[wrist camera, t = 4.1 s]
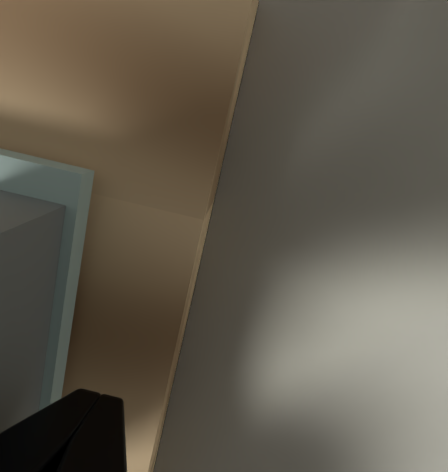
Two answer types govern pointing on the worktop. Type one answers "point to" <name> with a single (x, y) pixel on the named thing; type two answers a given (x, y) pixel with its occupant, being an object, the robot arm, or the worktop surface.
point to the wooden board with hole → (129, 170)
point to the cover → (38, 277)
